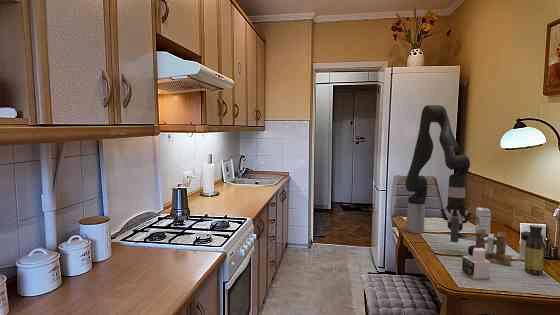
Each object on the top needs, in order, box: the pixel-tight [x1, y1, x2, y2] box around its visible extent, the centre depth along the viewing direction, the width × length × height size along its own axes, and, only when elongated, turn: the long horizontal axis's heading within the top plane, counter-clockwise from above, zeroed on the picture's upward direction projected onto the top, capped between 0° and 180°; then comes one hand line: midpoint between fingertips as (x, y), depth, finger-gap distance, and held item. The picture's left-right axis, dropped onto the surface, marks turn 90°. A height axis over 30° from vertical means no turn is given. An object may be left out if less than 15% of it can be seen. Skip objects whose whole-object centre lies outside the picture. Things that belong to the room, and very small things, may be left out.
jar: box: [519, 231, 544, 262], centre depth 148 cm, size 9×8×12 cm
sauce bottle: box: [524, 224, 545, 275], centre depth 134 cm, size 6×6×20 cm
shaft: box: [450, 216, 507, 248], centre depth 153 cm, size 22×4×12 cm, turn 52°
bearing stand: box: [475, 229, 512, 267], centre depth 150 cm, size 16×12×12 cm
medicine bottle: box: [461, 244, 491, 280], centre depth 132 cm, size 7×7×12 cm
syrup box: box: [475, 207, 491, 236], centre depth 186 cm, size 6×6×14 cm
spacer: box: [486, 233, 495, 253], centre depth 150 cm, size 2×7×7 cm, turn 142°
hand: (455, 229), depth 159 cm, fingers open, 3 cm apart
